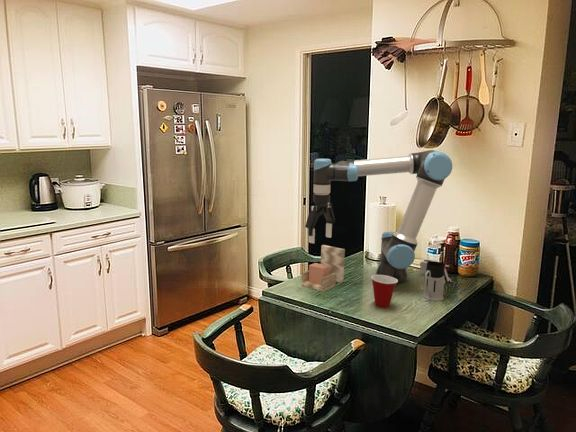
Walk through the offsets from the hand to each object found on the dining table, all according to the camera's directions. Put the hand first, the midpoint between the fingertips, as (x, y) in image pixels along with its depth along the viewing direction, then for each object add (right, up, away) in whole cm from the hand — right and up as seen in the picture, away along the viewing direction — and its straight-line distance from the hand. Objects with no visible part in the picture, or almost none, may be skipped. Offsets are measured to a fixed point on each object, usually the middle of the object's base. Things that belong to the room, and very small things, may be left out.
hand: (320, 240), depth 211 cm
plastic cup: (+25, -26, -18) cm, 40 cm away
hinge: (+57, -20, +18) cm, 63 cm away
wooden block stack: (+2, -21, +7) cm, 22 cm away
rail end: (0, -20, +4) cm, 20 cm away
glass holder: (+47, -25, -9) cm, 54 cm away
